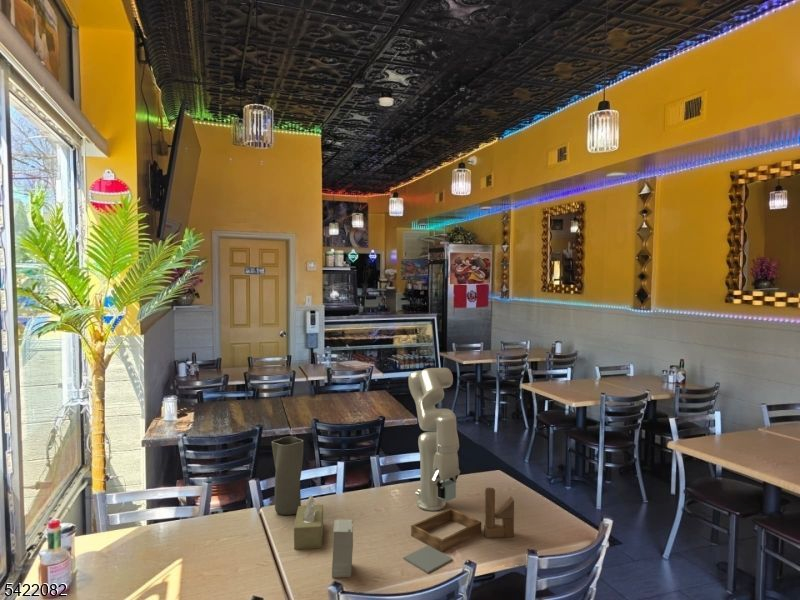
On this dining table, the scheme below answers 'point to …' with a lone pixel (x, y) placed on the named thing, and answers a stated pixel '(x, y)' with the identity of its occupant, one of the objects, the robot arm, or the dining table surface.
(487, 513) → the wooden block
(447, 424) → the robot arm
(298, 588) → the dining table surface
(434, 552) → the mat
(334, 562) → the skincare box
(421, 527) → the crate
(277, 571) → the dining table surface
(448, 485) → the block
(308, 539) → the tissue box
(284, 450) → the vase
